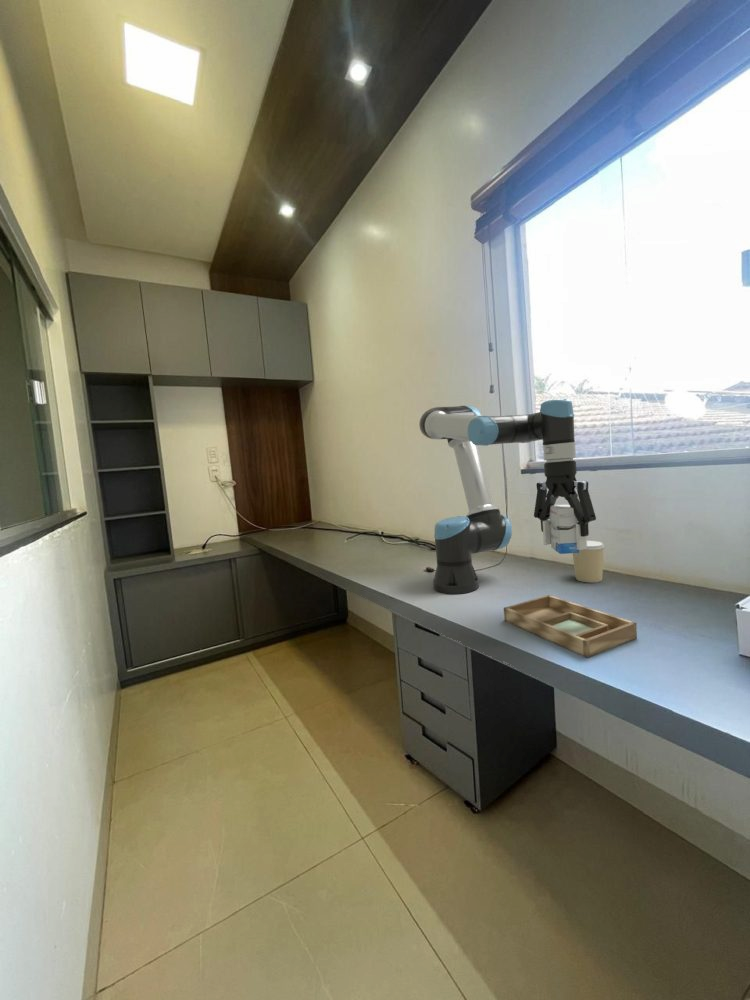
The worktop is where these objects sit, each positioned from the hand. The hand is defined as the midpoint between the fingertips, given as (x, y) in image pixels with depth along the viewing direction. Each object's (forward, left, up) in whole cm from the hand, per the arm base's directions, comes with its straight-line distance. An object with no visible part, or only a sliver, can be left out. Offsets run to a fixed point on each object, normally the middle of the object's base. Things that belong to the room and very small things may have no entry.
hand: (564, 546), depth 104 cm
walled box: (+6, -9, -18) cm, 21 cm away
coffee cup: (-16, +28, -18) cm, 37 cm away
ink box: (0, 0, -1) cm, 1 cm away
